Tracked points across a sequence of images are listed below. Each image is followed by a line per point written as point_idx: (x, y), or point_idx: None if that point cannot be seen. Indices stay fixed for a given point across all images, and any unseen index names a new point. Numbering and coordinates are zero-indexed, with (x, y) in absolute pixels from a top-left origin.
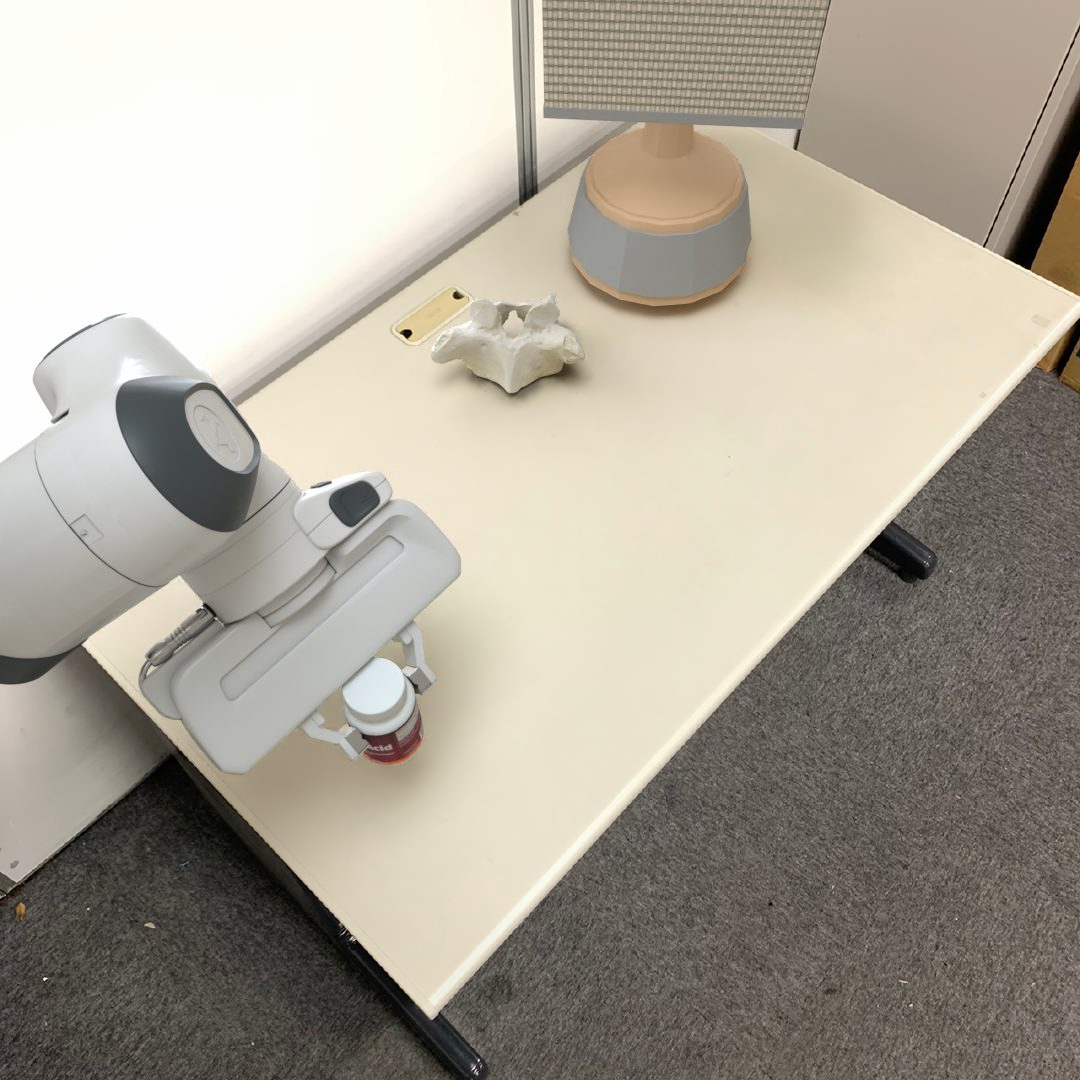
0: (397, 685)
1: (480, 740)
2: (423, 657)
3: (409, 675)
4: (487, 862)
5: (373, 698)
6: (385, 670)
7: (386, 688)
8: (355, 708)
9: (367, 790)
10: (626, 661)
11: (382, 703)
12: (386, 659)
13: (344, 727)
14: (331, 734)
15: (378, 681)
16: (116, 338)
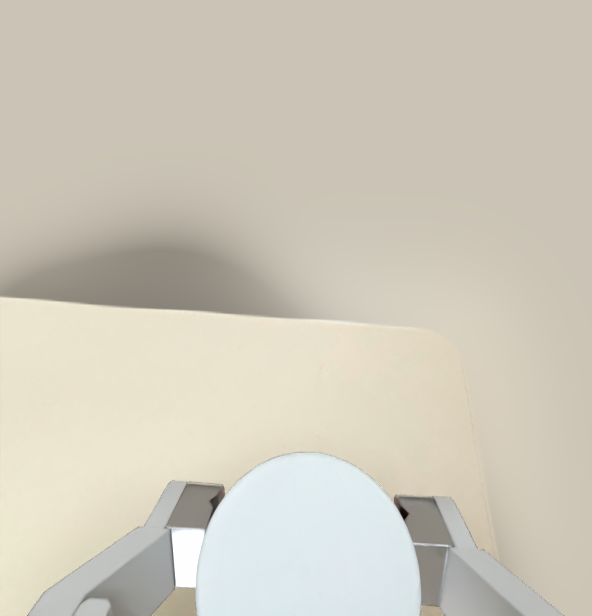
0: (259, 491)
1: (212, 473)
2: (132, 533)
3: (200, 531)
4: (324, 368)
5: (341, 528)
6: (238, 575)
7: (288, 515)
8: (410, 554)
9: None
10: (33, 391)
11: (334, 487)
12: (199, 611)
13: None
14: (495, 580)
15: (285, 563)
16: None
